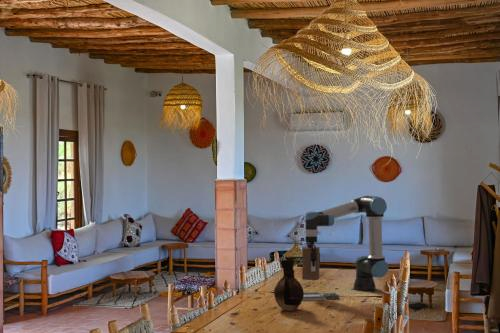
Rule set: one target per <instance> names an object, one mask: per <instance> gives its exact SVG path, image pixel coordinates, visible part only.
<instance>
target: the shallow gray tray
mask: <svg viewBox="0 0 500 333" xmlns="http://www.w3.org/2000/svg"><path fill="white" fill-rule="evenodd" d="M303 292H304V291H303ZM326 300H327V299H326V298H325V296H324V295H323V293H321V292H320V291H317V292H315V291H314V292H313V291H312V292H311V291H309V292H308V291H307V292H304V296H303V300H302V302H303V301H307V302H308V301H326Z"/></svg>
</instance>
